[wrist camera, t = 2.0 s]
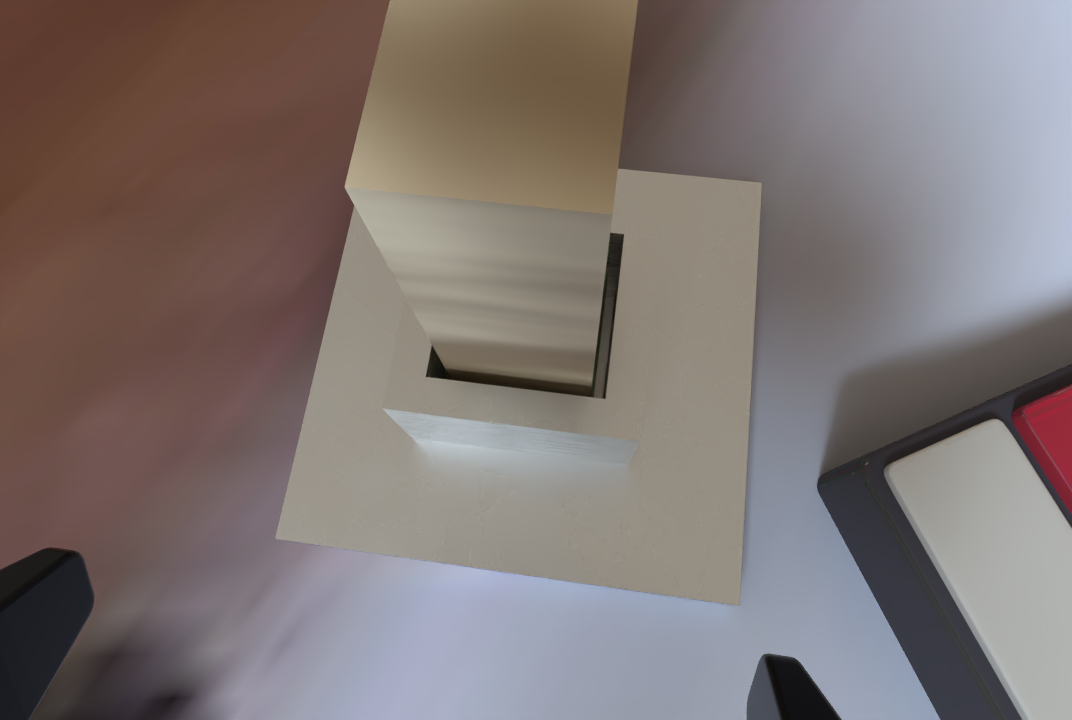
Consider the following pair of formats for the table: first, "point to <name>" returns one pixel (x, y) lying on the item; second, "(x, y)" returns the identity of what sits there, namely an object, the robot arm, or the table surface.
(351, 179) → the column
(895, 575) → the calculator
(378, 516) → the sleeve stand
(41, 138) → the table surface
